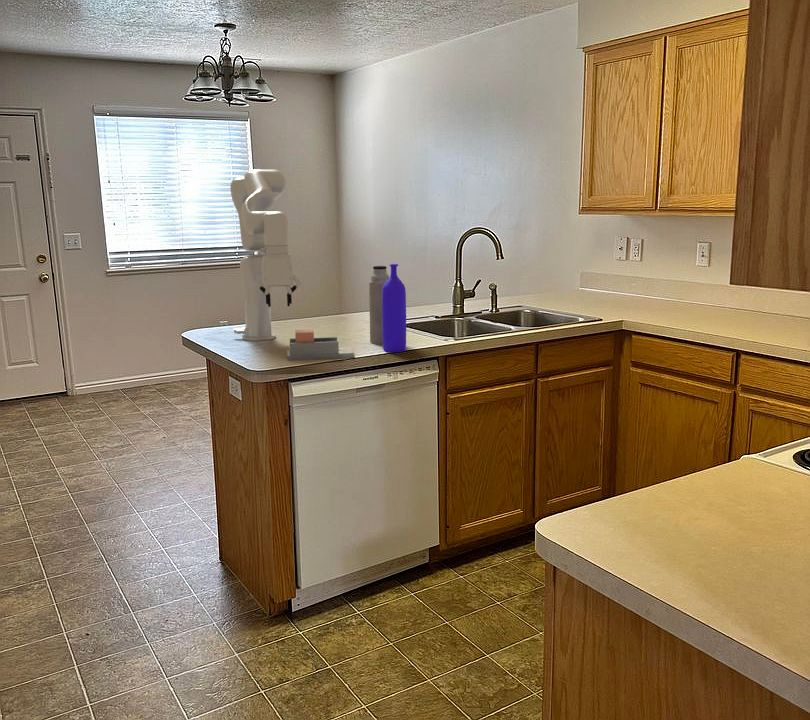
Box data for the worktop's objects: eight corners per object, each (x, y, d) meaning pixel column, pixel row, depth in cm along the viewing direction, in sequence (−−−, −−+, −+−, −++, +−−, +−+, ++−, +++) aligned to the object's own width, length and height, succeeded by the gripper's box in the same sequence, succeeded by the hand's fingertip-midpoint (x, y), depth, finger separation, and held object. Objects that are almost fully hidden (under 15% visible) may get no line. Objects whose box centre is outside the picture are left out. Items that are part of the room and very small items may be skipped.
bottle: (377, 350, 260) (376, 264, 254) (394, 347, 266) (394, 262, 259) (394, 353, 254) (393, 265, 248) (411, 350, 260) (410, 264, 253)
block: (296, 353, 247) (295, 332, 246) (296, 350, 253) (295, 329, 251) (314, 352, 248) (313, 332, 247) (313, 349, 254) (313, 329, 252)
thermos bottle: (377, 339, 280) (376, 264, 274) (395, 341, 276) (395, 265, 270) (365, 342, 274) (364, 266, 268) (384, 344, 270) (383, 267, 264)
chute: (287, 360, 245) (286, 343, 244) (287, 354, 255) (286, 338, 254) (353, 357, 248) (353, 341, 247) (351, 351, 258) (351, 336, 257)
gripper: (249, 252, 237) (252, 308, 241) (303, 251, 240) (305, 307, 244) (250, 250, 245) (253, 305, 248) (303, 249, 247) (305, 303, 251)
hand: (279, 305), depth 246 cm, fingers open, 5 cm apart
